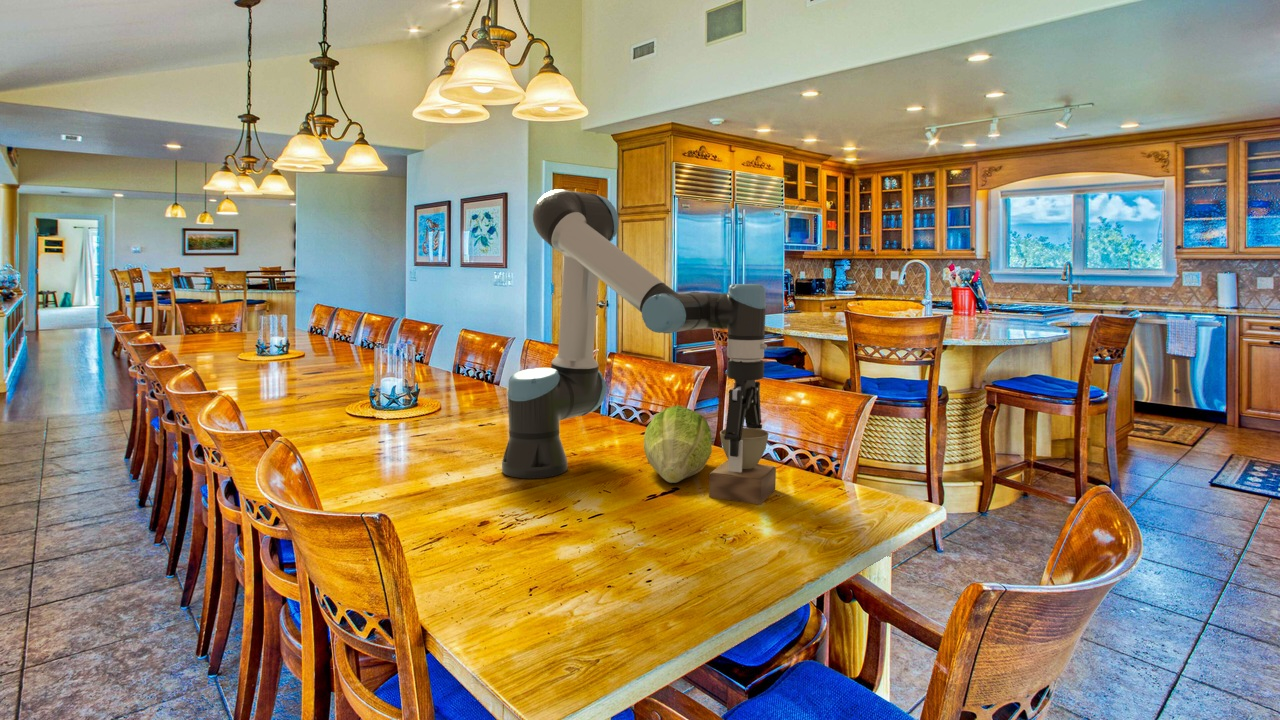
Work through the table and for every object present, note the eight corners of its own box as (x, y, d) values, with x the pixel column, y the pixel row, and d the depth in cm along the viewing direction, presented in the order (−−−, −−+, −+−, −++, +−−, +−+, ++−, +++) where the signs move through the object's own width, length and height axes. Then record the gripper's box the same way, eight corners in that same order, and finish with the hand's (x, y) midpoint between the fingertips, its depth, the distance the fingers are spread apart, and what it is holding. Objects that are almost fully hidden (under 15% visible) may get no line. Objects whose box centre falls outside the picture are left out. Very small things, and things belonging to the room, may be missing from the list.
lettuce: (710, 509, 151) (640, 513, 155) (717, 445, 173) (654, 450, 176) (700, 453, 145) (626, 458, 149) (708, 394, 166) (643, 400, 170)
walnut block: (709, 496, 145) (709, 472, 144) (726, 482, 154) (726, 459, 154) (760, 504, 140) (761, 479, 139) (775, 489, 150) (775, 465, 149)
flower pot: (768, 460, 150) (769, 428, 149) (767, 474, 141) (768, 439, 140) (721, 458, 152) (722, 426, 151) (717, 471, 143) (717, 436, 142)
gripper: (746, 367, 132) (744, 481, 135) (777, 354, 152) (774, 454, 155) (709, 364, 135) (707, 476, 138) (744, 352, 155) (742, 450, 158)
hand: (743, 464), depth 146 cm, fingers closed on flower pot, 10 cm apart
